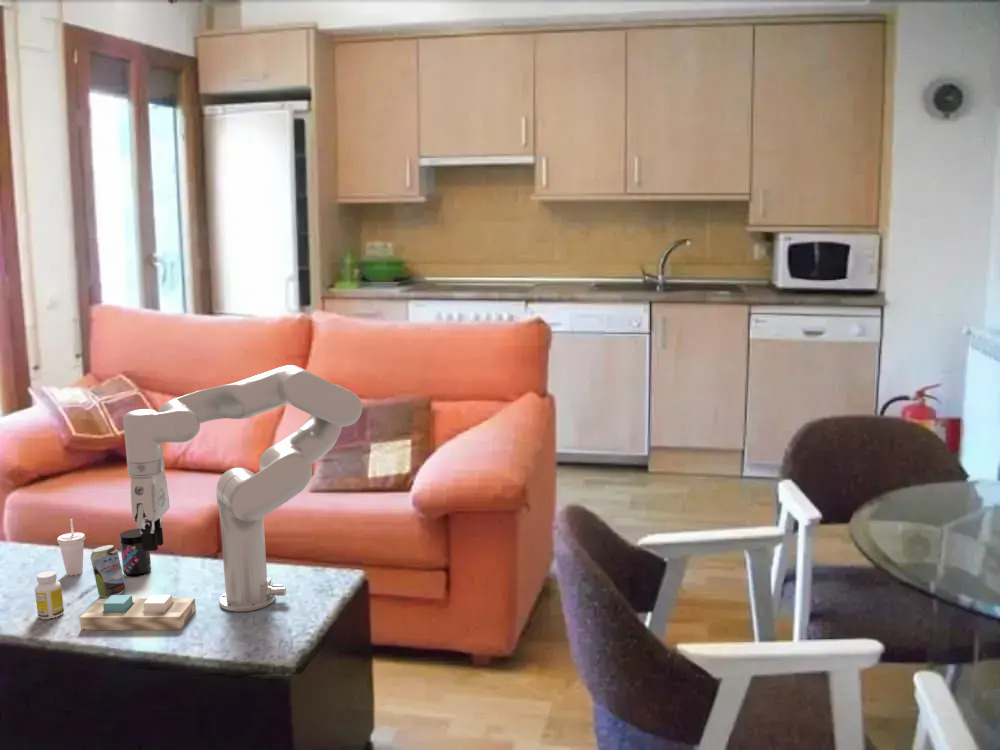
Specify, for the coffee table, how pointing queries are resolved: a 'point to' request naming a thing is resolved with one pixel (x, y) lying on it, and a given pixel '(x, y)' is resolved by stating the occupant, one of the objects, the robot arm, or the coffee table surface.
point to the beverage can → (107, 571)
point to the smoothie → (72, 551)
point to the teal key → (118, 604)
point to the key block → (139, 616)
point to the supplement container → (134, 554)
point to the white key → (158, 604)
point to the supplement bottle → (48, 595)
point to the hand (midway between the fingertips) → (153, 546)
